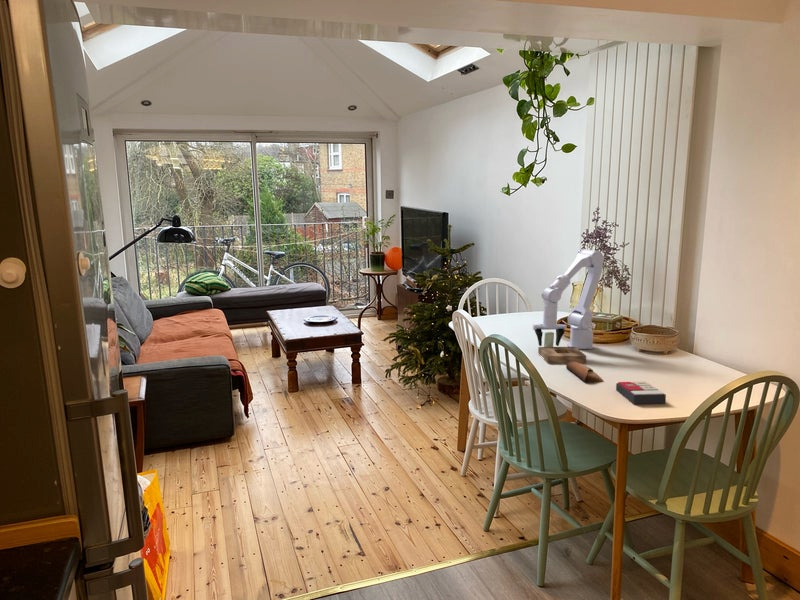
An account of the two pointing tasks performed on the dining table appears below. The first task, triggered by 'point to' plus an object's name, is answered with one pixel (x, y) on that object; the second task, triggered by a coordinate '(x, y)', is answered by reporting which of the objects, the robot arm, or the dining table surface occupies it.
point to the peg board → (561, 354)
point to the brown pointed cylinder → (583, 372)
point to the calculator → (641, 393)
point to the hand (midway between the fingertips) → (548, 345)
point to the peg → (548, 339)
